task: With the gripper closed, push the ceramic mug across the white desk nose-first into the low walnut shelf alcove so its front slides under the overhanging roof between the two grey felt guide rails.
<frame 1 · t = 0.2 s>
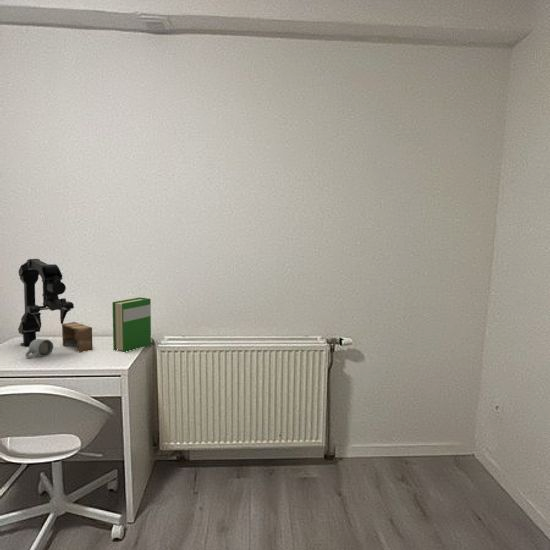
hand: (51, 325, 195), 14 cm above the table, tool pointing down, fingers open, 9 cm apart
alcove: (77, 347, 211), on the table
hardback book: (132, 347, 214), on the table
ceramic mug: (38, 356, 197), on the table
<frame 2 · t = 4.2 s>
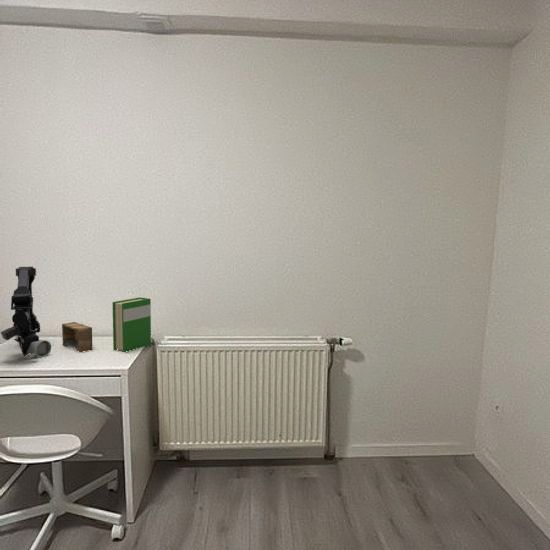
hand: (24, 354, 192), 2 cm above the table, tool pointing down, fingers closed
ceramic mug: (36, 356, 196), on the table, touching gripper
everything else where it was.
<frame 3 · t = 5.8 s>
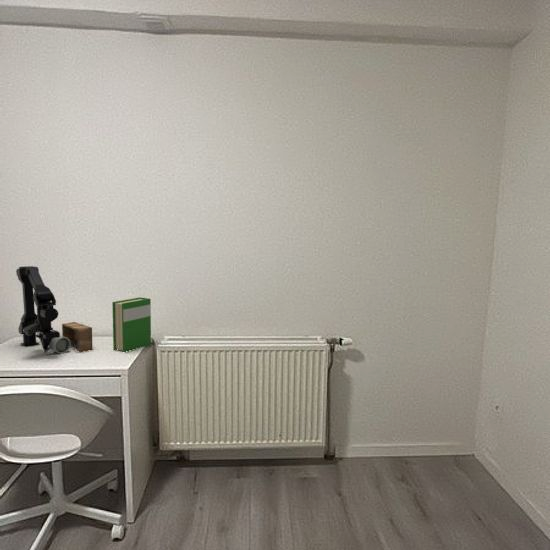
hand: (45, 350, 199), 2 cm above the table, tool pointing down, fingers closed
ceramic mug: (56, 353, 202), on the table, touching gripper
everything else where it was.
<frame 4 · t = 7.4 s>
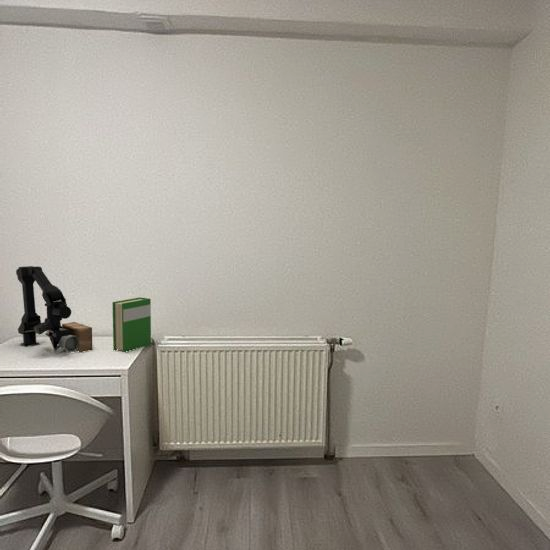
hand: (54, 348, 202), 2 cm above the table, tool pointing down, fingers closed
ceramic mug: (66, 351, 205), on the table, touching gripper
everything else where it was.
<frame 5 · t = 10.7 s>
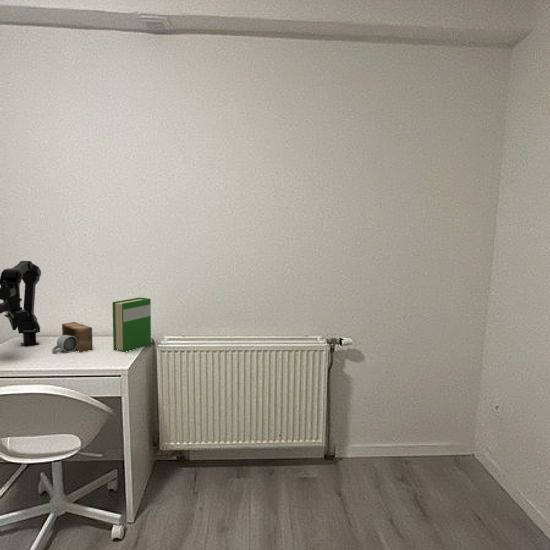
hand: (14, 330, 195), 12 cm above the table, tool pointing down, fingers closed
ceramic mug: (64, 351, 205), on the table
everything else where it was.
at the end: ceramic mug inside the target area (3.7 cm from its centre), on the table; ceramic mug tilted 0°; ceramic mug moved 11.4 cm from its start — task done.
